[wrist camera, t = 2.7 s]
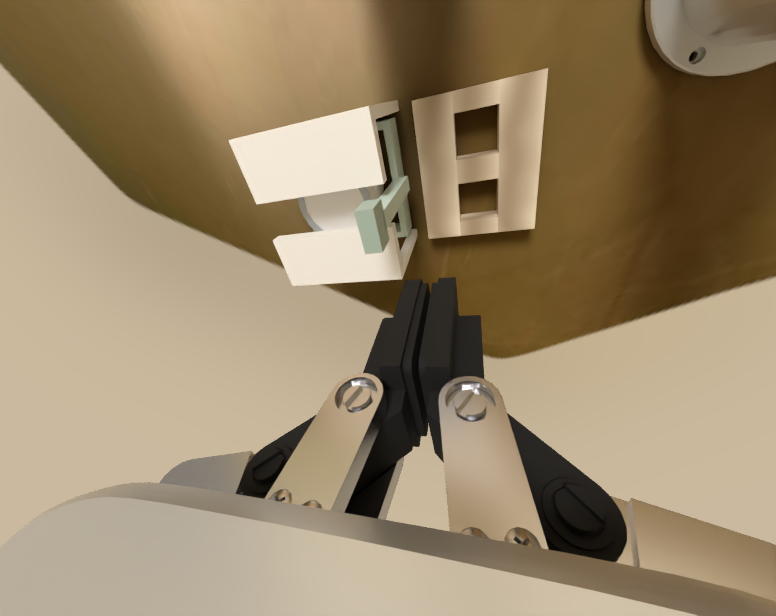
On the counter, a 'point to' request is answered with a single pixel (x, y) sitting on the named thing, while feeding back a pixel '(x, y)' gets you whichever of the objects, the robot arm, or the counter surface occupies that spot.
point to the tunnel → (319, 176)
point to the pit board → (482, 155)
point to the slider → (386, 199)
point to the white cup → (336, 207)
